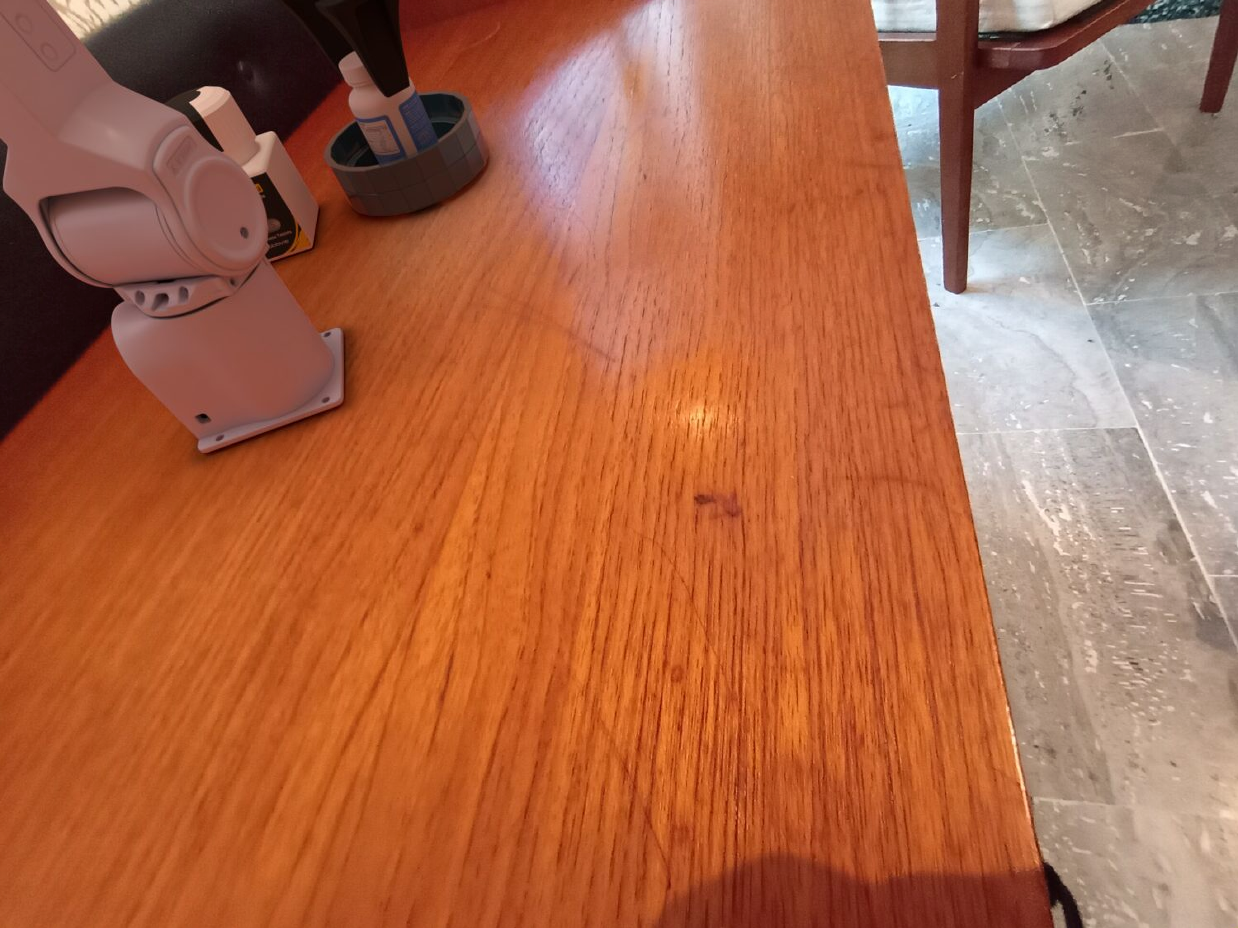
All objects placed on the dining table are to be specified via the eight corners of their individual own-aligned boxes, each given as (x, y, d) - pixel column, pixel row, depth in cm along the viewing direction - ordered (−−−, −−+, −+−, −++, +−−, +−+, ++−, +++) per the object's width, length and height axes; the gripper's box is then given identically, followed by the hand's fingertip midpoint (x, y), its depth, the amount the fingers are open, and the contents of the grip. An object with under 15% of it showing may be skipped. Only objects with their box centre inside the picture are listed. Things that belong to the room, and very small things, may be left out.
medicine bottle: (232, 275, 60) (126, 135, 51) (245, 232, 65) (150, 96, 56) (314, 249, 60) (222, 102, 51) (320, 207, 65) (237, 66, 56)
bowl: (351, 239, 59) (322, 189, 56) (350, 171, 68) (325, 124, 65) (500, 186, 59) (479, 133, 56) (480, 125, 68) (461, 75, 65)
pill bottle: (437, 149, 65) (386, 33, 58) (456, 170, 62) (405, 49, 55) (381, 175, 65) (323, 61, 57) (398, 198, 61) (338, 78, 54)
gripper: (376, -156, 44) (462, 75, 54) (290, -151, 53) (378, 46, 63) (274, -112, 42) (383, 119, 52) (202, -115, 51) (307, 84, 61)
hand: (375, 82), depth 58 cm, fingers open, 7 cm apart
